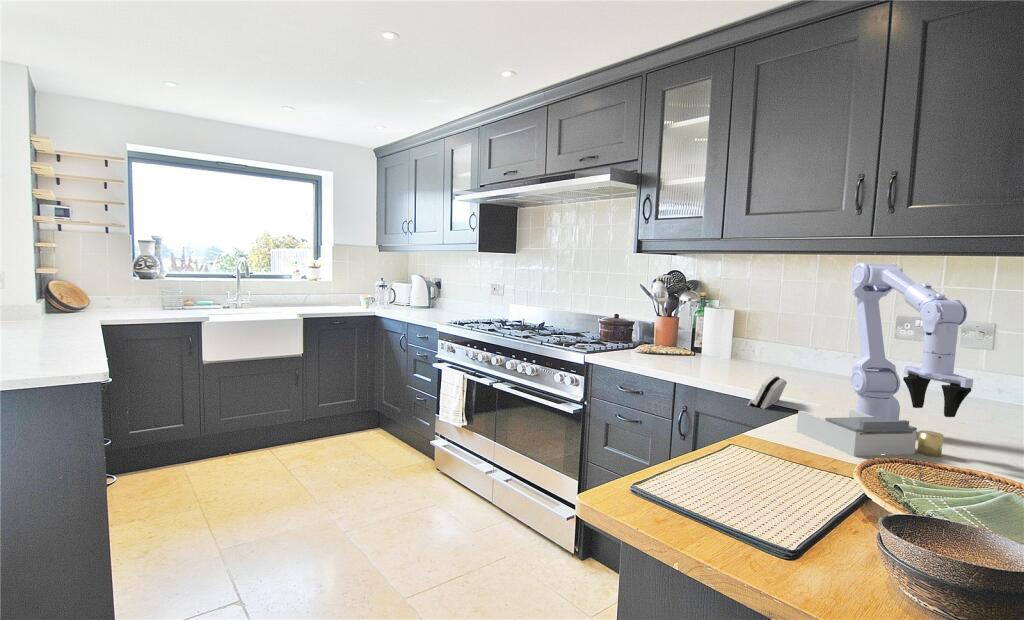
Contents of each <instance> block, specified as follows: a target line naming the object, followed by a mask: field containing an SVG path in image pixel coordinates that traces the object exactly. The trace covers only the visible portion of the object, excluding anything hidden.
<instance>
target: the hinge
mask: <svg viewBox="0 0 1024 620" xmlns="http://www.w3.org/2000/svg"><path fill="white" fill-rule="evenodd" d="M787 384H788V382H787V381H786V380H785V379H784V378H780V377H779V376H778V375H775V374H774V375H771V376H769V377H768V378H767V379H766V380H764V381H763V383H762V385H761V386H760V389H759V390H758V393H757V394H756V396H755V397H754V398H752V399H750V400H749V401H748V403H747V406H748V407H749V406H751V405H753V404H754V405H755V406H760V409H763V410H765V409H767V408H768V407H770V406H772V405H773V404H775V403H776V402H779V400H780V398H781V396H782V394H783V391H785V390H784V389H785V388H786V385H787Z"/></svg>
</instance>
